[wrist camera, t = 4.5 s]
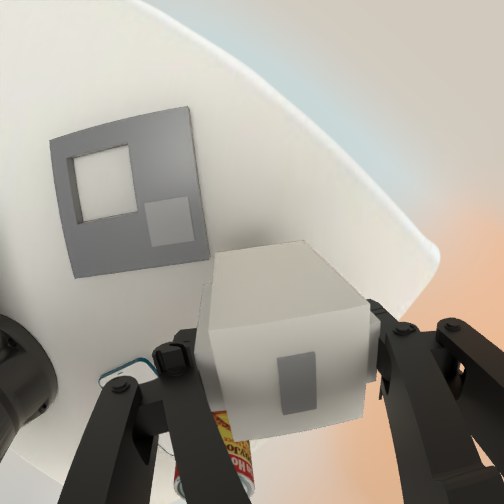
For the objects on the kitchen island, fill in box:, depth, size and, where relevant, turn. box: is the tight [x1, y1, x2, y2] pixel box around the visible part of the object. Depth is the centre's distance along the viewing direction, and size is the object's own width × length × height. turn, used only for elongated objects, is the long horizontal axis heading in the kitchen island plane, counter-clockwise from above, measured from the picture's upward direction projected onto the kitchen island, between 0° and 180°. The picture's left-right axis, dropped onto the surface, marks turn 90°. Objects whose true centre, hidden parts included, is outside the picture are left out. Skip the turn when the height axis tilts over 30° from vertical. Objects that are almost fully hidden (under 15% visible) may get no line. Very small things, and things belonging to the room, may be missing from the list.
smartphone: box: [99, 358, 174, 456], centre depth 36 cm, size 8×1×16 cm
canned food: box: [174, 410, 255, 500], centre depth 30 cm, size 8×8×12 cm
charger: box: [208, 240, 370, 442], centre depth 14 cm, size 5×5×9 cm
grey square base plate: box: [49, 106, 210, 279], centre depth 28 cm, size 14×14×2 cm
